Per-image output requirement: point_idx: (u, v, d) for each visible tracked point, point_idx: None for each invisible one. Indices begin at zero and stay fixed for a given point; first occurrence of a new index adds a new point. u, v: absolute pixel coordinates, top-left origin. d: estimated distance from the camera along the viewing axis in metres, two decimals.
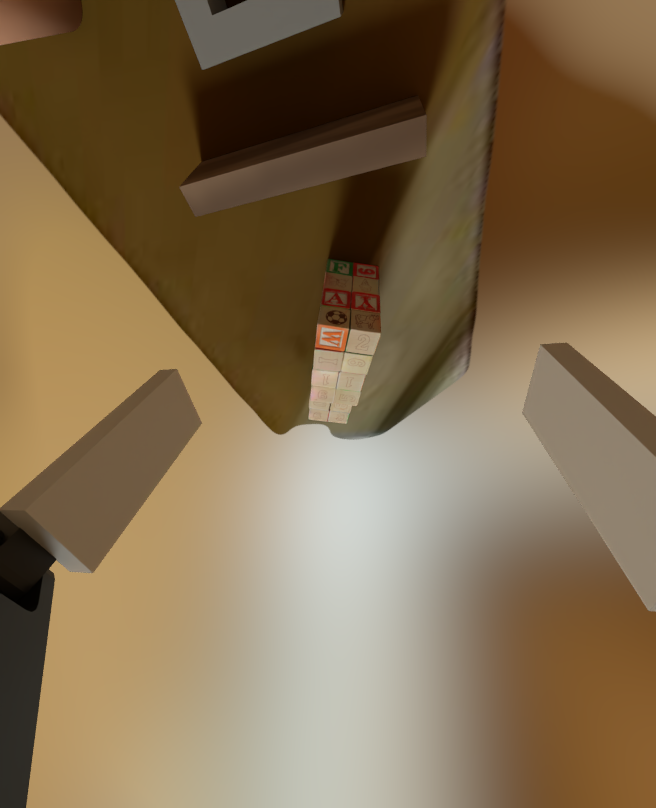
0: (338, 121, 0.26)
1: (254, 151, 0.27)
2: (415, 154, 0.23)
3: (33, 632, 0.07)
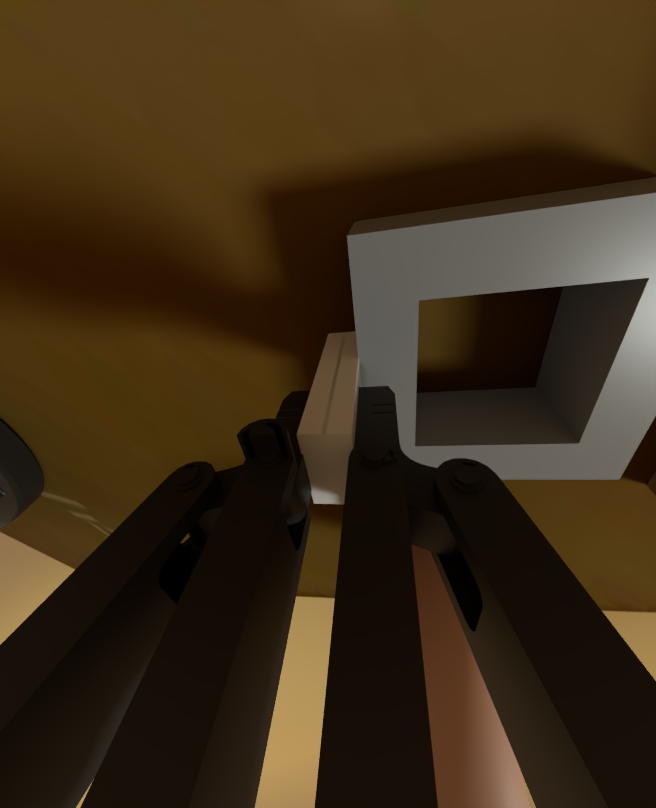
0: None
1: None
2: None
3: (294, 573, 0.07)
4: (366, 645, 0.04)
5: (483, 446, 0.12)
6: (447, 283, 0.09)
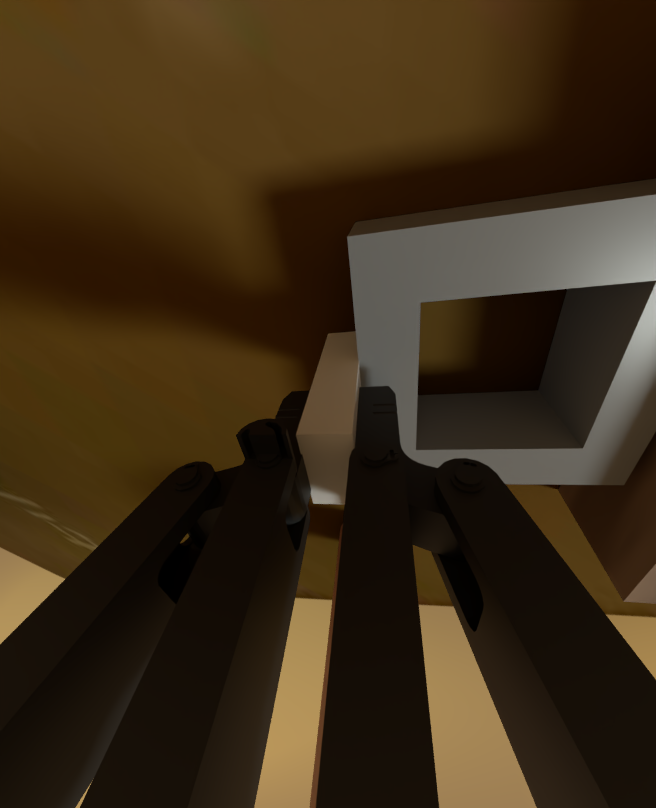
0: None
1: None
2: None
3: (294, 573, 0.07)
4: (367, 645, 0.04)
5: (485, 450, 0.12)
6: (449, 285, 0.09)
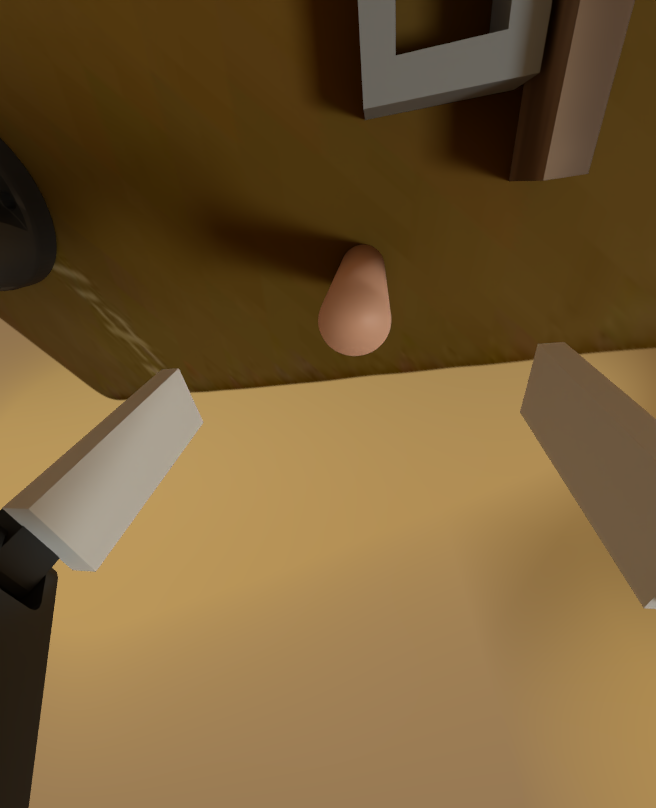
0: None
1: None
2: None
3: (36, 630, 0.07)
4: None
5: (443, 45, 0.18)
6: None
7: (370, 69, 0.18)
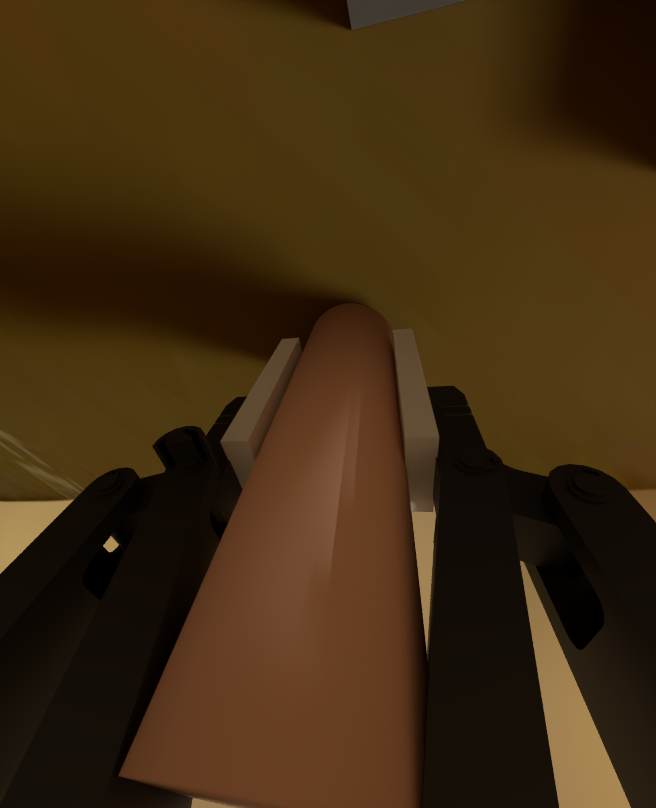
0: None
1: None
2: None
3: None
4: (472, 666, 0.04)
5: None
6: None
7: None
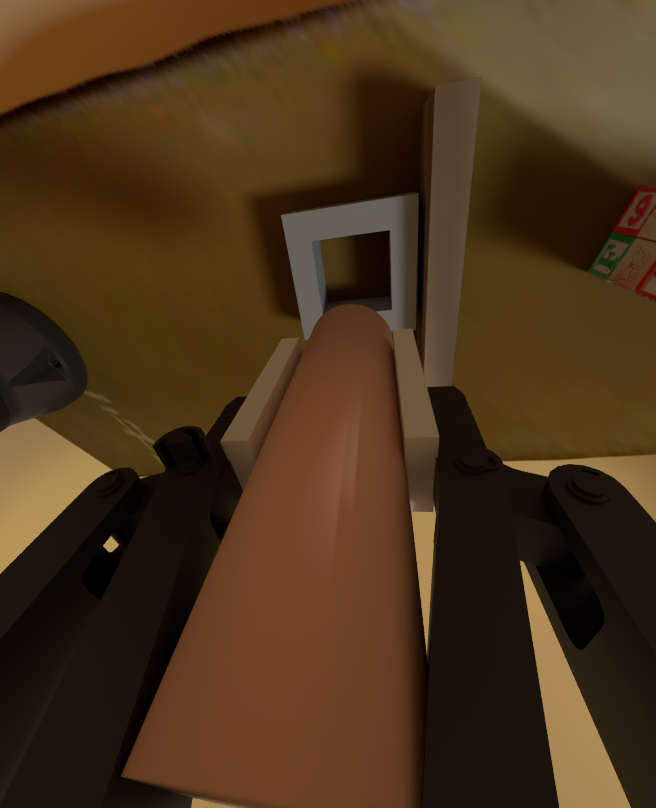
0: (420, 215, 0.25)
1: (419, 311, 0.28)
2: (474, 97, 0.17)
3: None
4: (471, 665, 0.04)
5: None
6: (320, 233, 0.24)
7: (307, 321, 0.28)
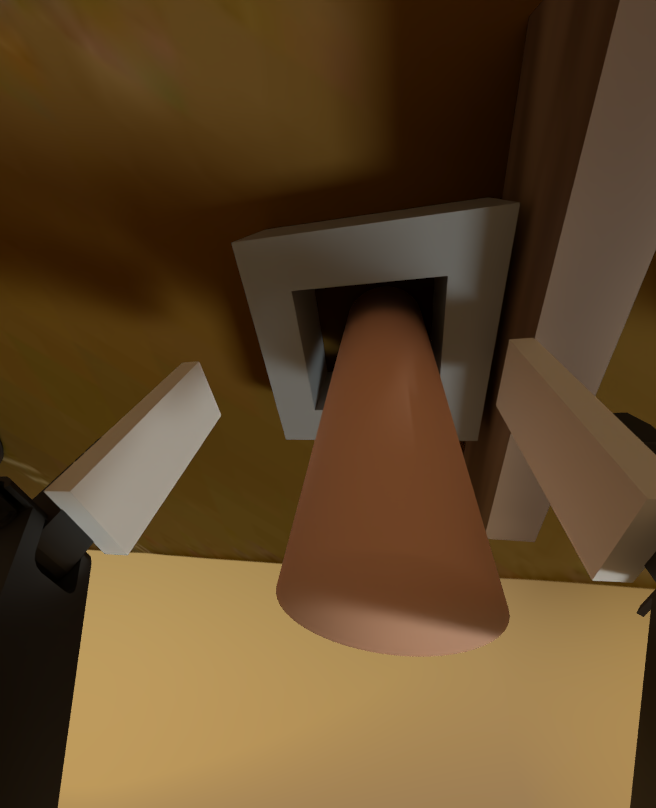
0: None
1: None
2: None
3: (71, 614, 0.07)
4: None
5: None
6: (308, 278, 0.12)
7: (289, 415, 0.16)
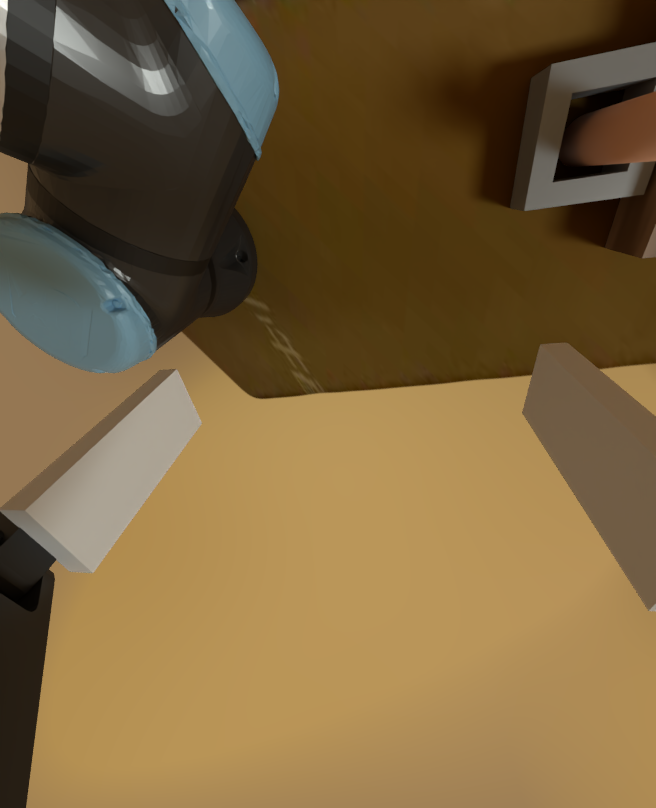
0: None
1: None
2: None
3: (33, 632, 0.07)
4: None
5: (584, 178, 0.28)
6: (585, 84, 0.25)
7: (534, 189, 0.29)
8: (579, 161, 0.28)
